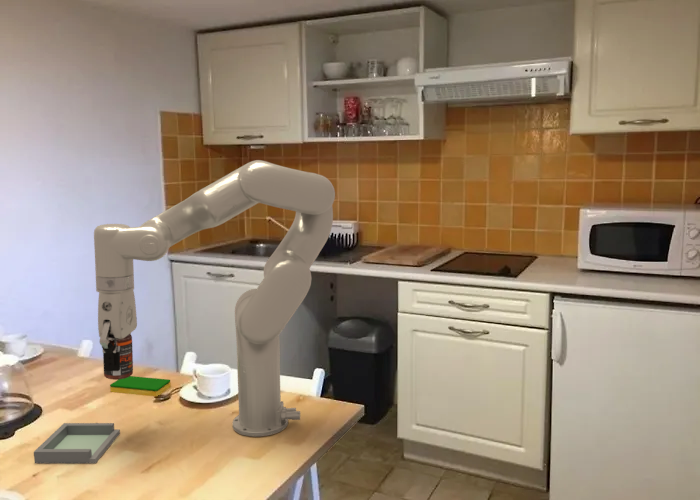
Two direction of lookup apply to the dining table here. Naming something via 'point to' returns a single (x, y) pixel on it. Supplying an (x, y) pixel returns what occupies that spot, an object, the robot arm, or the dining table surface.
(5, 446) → the dining table surface
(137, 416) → the dining table surface
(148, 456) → the dining table surface
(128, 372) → the supplement bottle
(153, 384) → the dish sponge
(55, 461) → the dock bay
